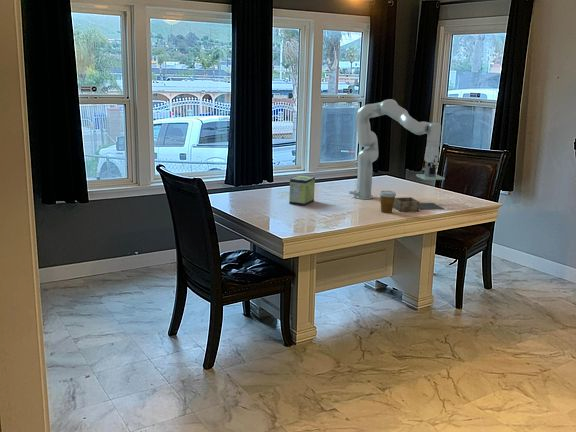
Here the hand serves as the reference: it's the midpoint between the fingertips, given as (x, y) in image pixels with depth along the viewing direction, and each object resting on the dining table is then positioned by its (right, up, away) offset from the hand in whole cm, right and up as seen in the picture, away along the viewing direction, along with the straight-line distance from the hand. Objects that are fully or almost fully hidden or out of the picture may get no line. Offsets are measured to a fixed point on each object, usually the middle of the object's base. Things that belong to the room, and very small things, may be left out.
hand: (430, 173), depth 358 cm
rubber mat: (-1, -20, +5) cm, 21 cm away
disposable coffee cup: (-29, -24, -11) cm, 39 cm away
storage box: (-16, -22, -4) cm, 28 cm away
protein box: (-79, -18, +6) cm, 81 cm away
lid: (0, -3, +1) cm, 3 cm away
